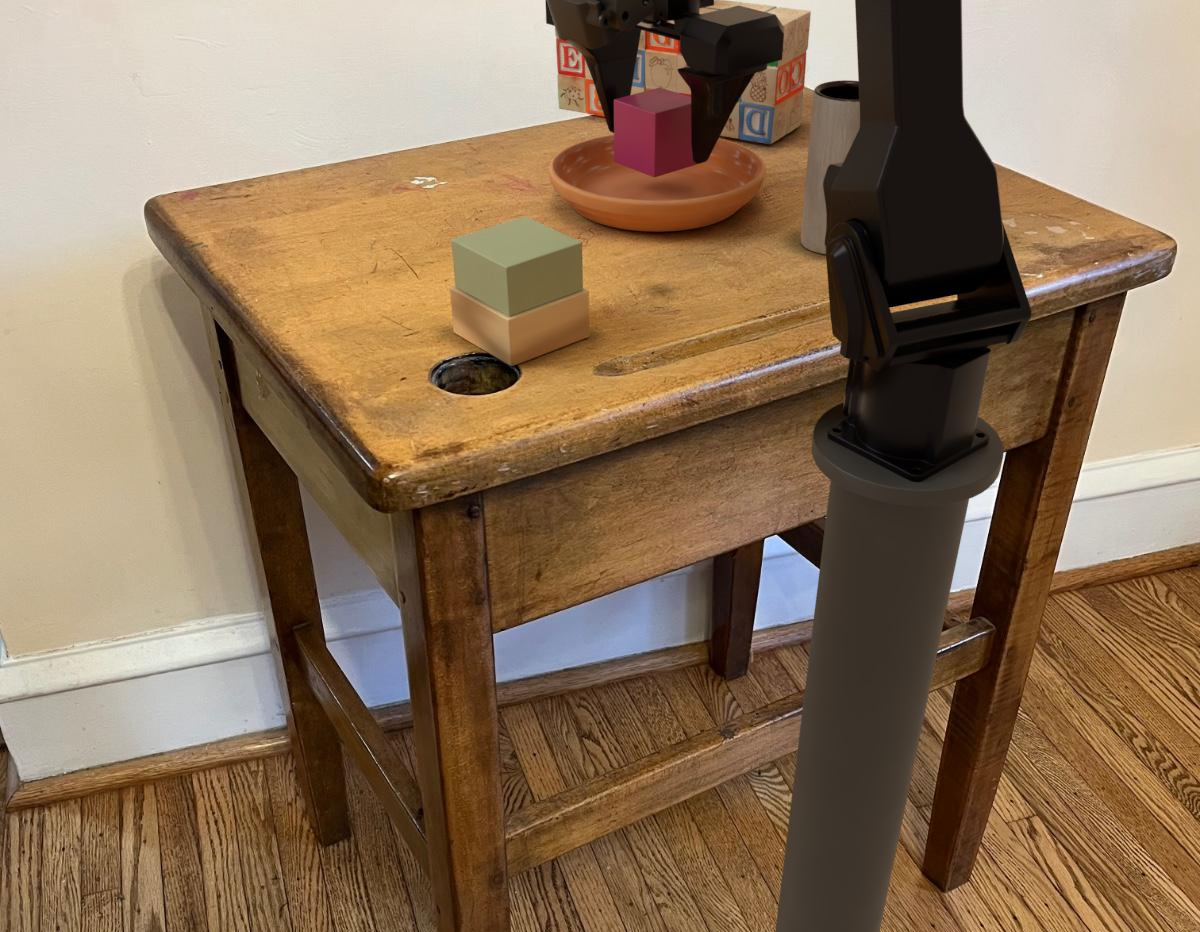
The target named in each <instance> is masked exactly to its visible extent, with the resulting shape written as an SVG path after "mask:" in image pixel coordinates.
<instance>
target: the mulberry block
mask: <svg viewBox="0 0 1200 932" xmlns="http://www.w3.org/2000/svg"><path fill="white" fill-rule="evenodd" d="M613 135H614V162H616V163H618V164H621V165H623V166H626V167H628V168H631V169H634V170H636V171H639V172H641V173H644V174H646V175H649V176H652V177H654V178H655V177H658V176H661V175H664V174H668V173H671V172H674V171H677V170H680V169H684V168H687V167H690V166H693V165H697V163H694V161H693V154H692V144H691V97H688V96H685V95H682V94H679V93H676V92H673V91H670V90H667V89H663V88H660V87H659V88H656V89H652V90H648V91H644V92H641V93H637V94H633V95H629V96H625V97H622V98H618V99H614V133H613Z"/></svg>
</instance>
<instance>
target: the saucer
mask: <svg viewBox="0 0 1200 932" xmlns="http://www.w3.org/2000/svg"><path fill="white" fill-rule="evenodd" d="M766 172H767V167H766V164H765V161H764V160H763V158H762V157H761V156H760V155H759V154H758V153H756V152H755V151H754V150H751V149H750V148H748V147H746V146H744V145H742V144H739V143H737V142H734V141H730V140H728V139H724V138H721V137H719V139H718V141H717V143H716V145H715V147H714V149H713V151H712V153H711V155H710V157H709V159H708V160H707V161H706V162H703V163H700V164H697V165H693V166H690V167H687V168H684V169H680V170H677V171H674V172H671V173H668V174H664V175H661V176H658V177H655V178H654V177H652V176H649V175H646V174H644V173H641V172H639V171H636V170H634V169H631V168H628V167H626V166H623V165H621V164H618V163H616V162H614V134H608V135H603V136H598V137H595V138H590V139H585V140H583V141H580V142H576V143H574V144H572V145H570V146H568V147H566V148H564V149H562V150H561V151H559V152H558V153H557V154H556V155H554V157H553V158H552V160H551V161H550V163H549V168H548V173H549V180H550V184H551V186H552V188H553V190H554V191H555V192H556V193H557V194H558V195H559V196H560V197H561V199H562V200H563V201H564V202H566V203H567V204H568V205H569V206H571V207H572V208H573V209H574V210H575V211H576V212H577V213H578V214H579V215H581V216H583V217H584V218H586V219H588V220H589V221H592V222H594V223H597V224H599V225H600V224H601V225H603V226H607V227H611V228H615V229H620V230H626V231H627V230H628V231H637V232H653V233H654V232H655V233H656V232H658V233H659V232H661V233H662V232H679V231H686V230H694V229H699V228H704V227H707V226H711V225H714V224H718V223H719V222H722V221H724V220H726V219H728V218H729V217H731V216H733V215H734V214H735V213H736V212H737V211H738V210H739V209H741V208H742V207H743V206H745V205H746V204H747V203H749V202H750V201H751V200H752V198H753V197H754V196H756V195H757V193H759V192H760V191H761V189H762V187H763V184H764V181H765V177H766Z"/></svg>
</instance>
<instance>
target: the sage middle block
mask: <svg viewBox="0 0 1200 932" xmlns="http://www.w3.org/2000/svg"><path fill="white" fill-rule="evenodd" d="M450 241H451V243H450V244H451V254H452V255H451V256H452V264H453V265H452V266H453V276H454V286H456V287H457V288H459V289H460V290H462V291H464V292H466V293H468V294H469V295H471V296H473V297H475V298H477V299H478V300H480V301H482V302H484V303H486V304H488V305H489V306H491V307H493V308H495V309H497V310H498V311H500V312H502V313H504V314H506V315H507V316H513V315H516V314H518V313H521V312H524V311H527V310H529V309H532V308H535V307H538V306H541V305H543V304H546V303H549V302H552V301H554V300H557V299H560V298H563V297H566V296H568V295H571V294H574V293H577V292H579V291H582V290H583V289H584V275H583V273H584V272H583V271H584V268H583V243H582V241H580V240H578V239H575V238H574V237H572V236H569V235H567V234H565V233H563V232H560V231H558V230H556V229H554V228H552V227H550V226H547V225H546V224H543V223H541V222H539V221H537V220H534V219H533V218H531V217H528V216H526V215H524V216H522V217H518V218H515V219H511V220H508V221H505V222H501V223H499V224H495V225H492V226H489V227H486V228H482V229H480V230H476V231H474V232H470V233H467V234H466V233H465V234H464V235H460V236H457V237H454V238H451V240H450Z"/></svg>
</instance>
